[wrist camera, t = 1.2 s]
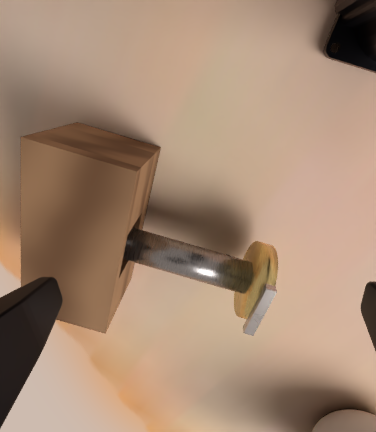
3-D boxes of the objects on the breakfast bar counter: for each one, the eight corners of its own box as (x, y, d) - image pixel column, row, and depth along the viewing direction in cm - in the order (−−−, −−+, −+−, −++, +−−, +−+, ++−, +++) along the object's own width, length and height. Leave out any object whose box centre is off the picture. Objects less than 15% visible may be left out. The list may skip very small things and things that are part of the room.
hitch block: (160, 147, 19) (137, 171, 14) (130, 279, 24) (105, 333, 19) (77, 122, 19) (20, 137, 14) (65, 259, 24) (20, 309, 19)
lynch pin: (269, 231, 20) (286, 282, 15) (244, 285, 22) (251, 345, 17) (134, 191, 20) (104, 228, 15) (122, 250, 22) (93, 299, 17)
